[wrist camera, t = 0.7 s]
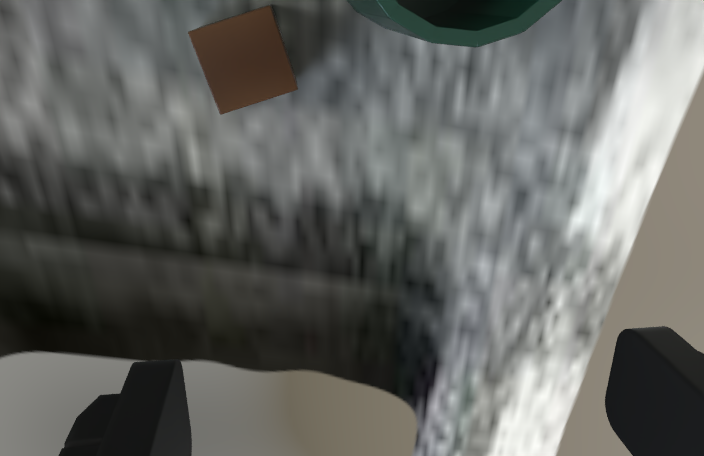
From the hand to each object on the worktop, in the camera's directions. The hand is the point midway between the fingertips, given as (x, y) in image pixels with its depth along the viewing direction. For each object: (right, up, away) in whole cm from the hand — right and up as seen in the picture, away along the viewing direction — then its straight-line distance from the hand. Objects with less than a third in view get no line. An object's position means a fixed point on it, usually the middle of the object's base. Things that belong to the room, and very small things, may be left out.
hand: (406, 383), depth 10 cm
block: (-7, +12, +20) cm, 25 cm away
